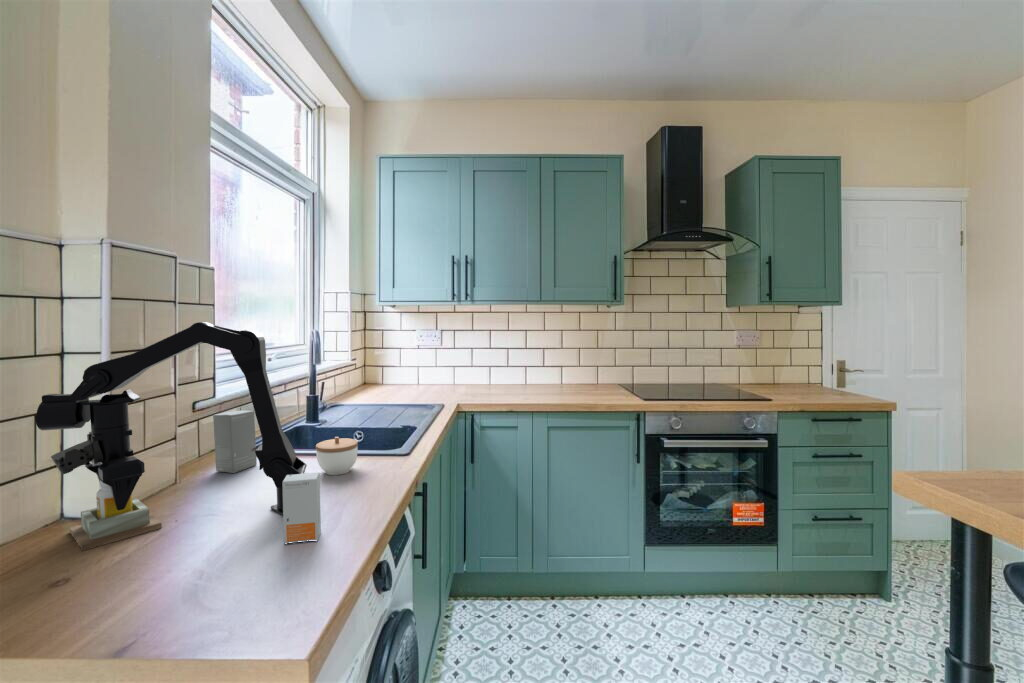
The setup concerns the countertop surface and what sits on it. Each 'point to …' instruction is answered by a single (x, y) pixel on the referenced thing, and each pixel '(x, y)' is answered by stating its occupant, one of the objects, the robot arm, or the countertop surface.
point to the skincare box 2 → (301, 507)
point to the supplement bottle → (109, 503)
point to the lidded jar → (337, 455)
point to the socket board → (113, 526)
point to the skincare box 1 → (234, 441)
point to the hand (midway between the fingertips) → (114, 503)
